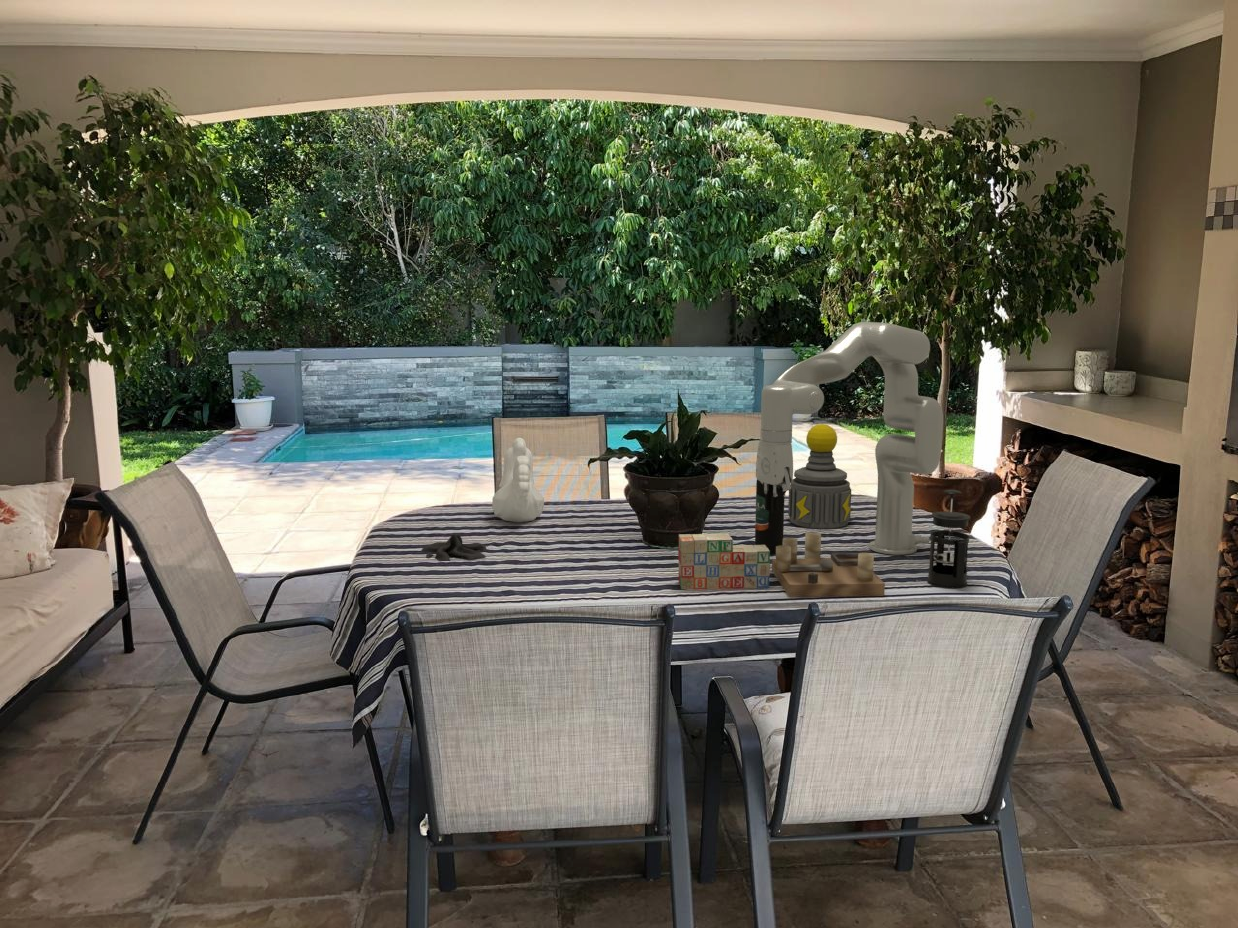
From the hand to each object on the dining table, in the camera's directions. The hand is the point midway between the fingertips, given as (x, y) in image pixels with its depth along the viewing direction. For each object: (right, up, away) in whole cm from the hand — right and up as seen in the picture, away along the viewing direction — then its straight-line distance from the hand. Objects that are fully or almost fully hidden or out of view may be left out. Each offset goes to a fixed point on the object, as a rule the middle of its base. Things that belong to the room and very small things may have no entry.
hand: (774, 510), depth 258 cm
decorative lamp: (+22, -6, +61) cm, 65 cm away
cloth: (-82, -14, +25) cm, 87 cm away
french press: (+42, -18, -1) cm, 46 cm away
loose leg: (+12, -14, +16) cm, 25 cm away
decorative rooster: (-69, -6, +61) cm, 92 cm away
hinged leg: (+7, -14, -1) cm, 16 cm away
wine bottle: (+3, -12, +29) cm, 31 cm away
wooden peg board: (+13, -17, -1) cm, 22 cm away
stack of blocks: (-13, -18, -2) cm, 22 cm away
